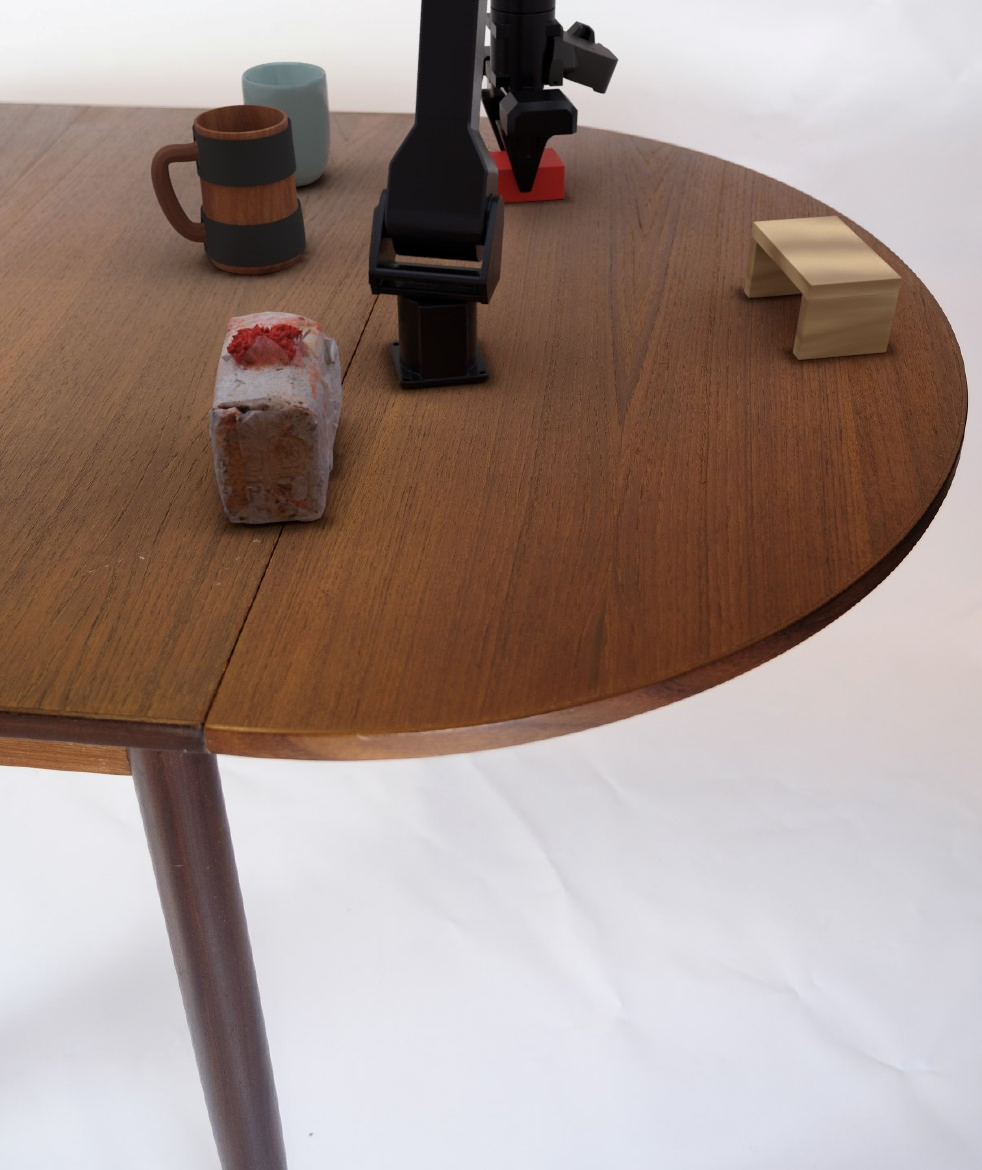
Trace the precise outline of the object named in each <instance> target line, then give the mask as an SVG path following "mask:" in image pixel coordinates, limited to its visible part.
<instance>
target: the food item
mask: <svg viewBox="0 0 982 1170" xmlns="http://www.w3.org/2000/svg"><path fill="white" fill-rule="evenodd" d="M342 387H343V386H342V371H341V362H340V355H339V346H338V344H337V340H336V338H334V337H328V336H326V335H325V333H324V331H323V325H322V324H320V323H319V322H317V321H315V320H312V319H310V318H309V317H307V316H306V317H305V316H302V315H299V314H294V313H291V312H290V313H289V312H282V311H269V310H267V311H263V312H257V313H251V314H246V315H242V316H241V315H240V316H233V317H230V318H229V321H228V323H227V327H226V333H225V338H224V341H223V344H222V349H221V352H220V355H219V360H218V366H217V370H216V377H215V381H214V389H213V403H212V407H211V408H210V409H209V411H208V415H209V421H208V422H209V426H208V428H209V430H208V434H209V437H210V439H211V445H212V454H213V455H212V457H213V467H214V472H215V478H216V483H217V488H218V493H219V496H220V499H221V503H222V506H223V508H224V509H223V511H224V513H225V514H226V515H227V517H228V519H229V520H230V522H231V523H234V524H247V525H251V524H252V525H259V524H260V525H262V524H268V523H276V522H290V521H300V522H302V523H303V522H304V523H305V522H313V521H316V520H319V519H320V518H321V517H322V516H323V513H324V511H325V509H326V504H327V492H328V489H329V478H330V473H331V471H332V470H333V469H334V451H333V450H334V444H335V439H336V435H337V430H338V427H339V420H340V416H341V412H342V408H343V388H342Z"/></svg>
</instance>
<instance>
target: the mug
mask: <svg viewBox="0 0 982 1170" xmlns="http://www.w3.org/2000/svg"><path fill="white" fill-rule="evenodd" d="M191 129H192V139H193V142H190V143H171V144H167V145H165V146H162V147H160V148H159V149H158V150H157V151H156V152H155V153H154V156H153V158H152V160H151V166H150V177H151V182H152V186H153V191H154V194H155V196H156V199H157V201H158V204H159V206H160V209H161V210H162V213H163V214H164V216H165V218H166V220H167V221H168V223H169V224H170V226H171V227H172V228H173V230H175V231H176V232H177V233H178V234H179V235H180V236H181V237H183V238H184V239H185V240H188V241H190V242H193V243H201V244H203V248H204V249H203V250H204V252H205V255H206V256H207V257H208V258H209V260H210V261H211V262H212V264H213V266H215V267H216V268H218V269H220V270H221V271H225V272H228V273H233V274H238V275H263V274H270V273H276V272H278V271H282V270H285V269H287V268H289V267H291V266H293V265H294V264H296V263H298V261H299V260H300V259H301V256H302V255H303V252H304V251H305V249H306V246H307V240H306V229H305V228H306V227H305V221H304V215H303V208H302V203H301V200H300V199H299V197H298V194H297V187H296V184H295V175H294V172H295V171H296V159H295V152H294V144H293V135H292V126H291V120H290V118H289V117H287V115H286V113H285V112H283V111H282V110H280V109H277V108H273V107H269V106H262V105H244V104H235V105H234V104H233V105H225V106H220V107H215V108H212V109H209V110H206V111H203V112H201V113H199V114H198V115H197V116H196V117H195V118H194V119H193V123H192V127H191ZM192 162H195V165H196V174H197V176H198V177H199V183H200V192H201V202H202V204H201V206H200V210H199V211H200V222H195V221H192V220H191V218H189V216H188V215H187V213H186V212H185V211H184V208H183V207H182V205H181V203H180V201H179V199H178V197H177V194H176V192H175V190H174V186H173V183H172V179H171V175H170V167H169V166H170V164H172V163H173V164H174V163H192Z"/></svg>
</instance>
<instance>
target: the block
mask: <svg viewBox="0 0 982 1170" xmlns="http://www.w3.org/2000/svg"><path fill="white" fill-rule="evenodd" d="M489 153H490V155H491V157H493V159H494V161H495V163H496V166H497V168H498V195H501V196H503V199H504V204H510V203H523V202H535V201H536V202H538V201H553V200H554V201H555V200H563V199H564V198H565V177H566V176H565V175H566V166H565V163H564V162H563V160H562V159H561V158H560V156H559V155H558V153H557V152H556V150H555V149H554V147H545V149H544V152H543V155H542V158H541V161H540V164H539V168H538V171H537V174H536V178H535V181H534V184H533V188H532V190H531V191H530V192H524V193H521V192H520V191H519V189H518V186H517V183H516V180H515V177H514V174H513V171H512V168H511V165H510V162H509V160H508V157H507V154H506V151H500V150H496V151H489Z"/></svg>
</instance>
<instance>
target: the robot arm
mask: <svg viewBox="0 0 982 1170" xmlns="http://www.w3.org/2000/svg"><path fill="white" fill-rule="evenodd" d="M556 1H557V0H490V1H489V5H490V7H489V8H490V9H489V12H488V0H420V16H419V18H420V19H419V33H418V34H419V35H418V56H417V71H416V72H417V73H416V92H415V93H416V94H415V108H414V109H415V111H414V123H413V125H412V127H411V128H410V130H409V131H408V133H407V134H406V136H405V138H404V139H403V140H402V142H401V143H400V145H399V146H398V149H397V150H396V151H395V153H394V155H393V156H392V158H391V159H390V160H389V163H388V172H387V180H386V181H387V182H386V186H384V187H383V188H382V190H381V193H380V197H379V201H378V204H376V206H375V207H374V208H373V214H372V223H371V233H370V241H369V251H368V273H367V276H368V281H367V282H368V285H369V286H370V291H371V295H372V296H373V295H374V296H380V295H386V296H396V302H397V303H396V306H397V326H398V327H397V329H398V340H393V341H391V342H390V343H389V350H390V354H391V358H392V361H393V365H394V369H395V373H396V376H397V380H398V383H399V386H400V387H401V388H405V389H407V388H408V389H409V388H418V387H430V386H440V385H452V384H463V383H474V382H476V383H477V382H484V381H487V380H489V379H490V372H489V371H490V370H489V369H488V366H487V364H486V361H485V358H484V356H483V354H482V351H481V349H480V346H479V344H478V303H480V304H481V305H489V304H490V302H491V300H492V299H493V295H494V293H495V291H496V289H497V286H498V284H499V281H500V279H501V272H502V271H501V269H502V256H503V241H504V228H505V227H504V225H505V223H504V222H505V203H504V199H503V196H501V195H498V168H497V166H496V163H495V161H494V159H493V157H491V155H490V153H489V152H490V151H489V149H488V147H487V145H486V143H485V141H484V139H483V137H482V135H481V132H480V118H481V106H482V107H483V109H484V112H485V115H486V116H487V119H488V122H489V124H490V127H491V130H492V133H493V135H494V137H495V140H496V143H497V145H498V148H499V151H506V154H507V157H508V160H509V162H510V165H511V168H512V171H513V174H514V177H515V180H516V183H517V186H518V189H519V191H520V192H521V193H524V192H530V191H531V190H532V188H533V184H534V181H535V178H536V174H537V171H538V168H539V164H540V161H541V158H542V155H543V152H544V149H545V148H546V146H547V143H548V142H549V140H551V138H552V137H554V136H568V135H569V136H570V135H574V134H576V133H577V132H578V119H579V117H578V115H579V110H578V109H577V107H576V106H575V104H574V103H573V102H572V100H571V99H570V98H569V97H568V96H567V95H566V94H565V93H564V92H563V91H562V90H561V89H560V88H545V86H548V87H563V86H564V79H565V80H567V81H570V82H573V83H576V84H579V85H582V86H584V87H587V88H591V90H592V91H593V92H595V93H598V94H600V95H601V94H602V95H605V94H606V93H607V91H608V87H609V85H610V83H611V80H612V78H613V75H614V72H615V69H616V68H617V64H618V62H619V58H618V57H617V56H616V55H615V53H613V52H612V51H611V50H610V49H609V47H608V48H607V47H606V46H604V45H603V44H602V43H600V42H597V43H596V34H595V33H596V32H595V30H594V28H592V26H590V25H589V24H586V23H583V22H580V21H578V20H576V21H575V22H574V23H573V24H572V25H571V26H570V27H569V28H567V30H564V26H563V25H562V24H561V23H560V22H559V20H558V19H557V18H556V6H557V5H556V3H557V2H556ZM486 27H487V28H486ZM486 29H488V30H489V31H490V32H489V45H486V44H485V43H486ZM484 77H485V78H486V88H483V81H484ZM396 255H397V256H399V257H411V258H422V259H423V258H424V259H434V260H445V261H447V260H448V261H459V262H472V263H481V267H473V266H472V267H471V266H461V265H460V266H459V265H445V264H435V263H434V264H433V263H422V262H412V261H399V260H396Z"/></svg>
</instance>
